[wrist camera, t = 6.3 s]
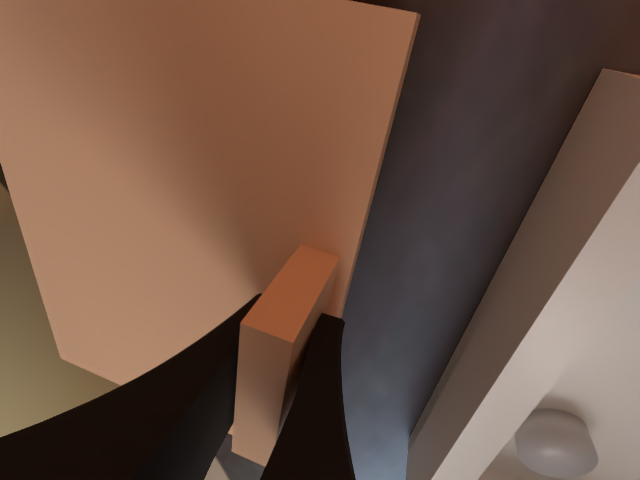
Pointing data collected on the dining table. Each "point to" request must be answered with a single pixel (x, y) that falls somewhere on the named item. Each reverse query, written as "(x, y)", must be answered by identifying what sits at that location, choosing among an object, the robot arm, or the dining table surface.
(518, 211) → the dining table surface
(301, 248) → the lid
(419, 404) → the dining table surface
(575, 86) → the dining table surface
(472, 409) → the parts tray
